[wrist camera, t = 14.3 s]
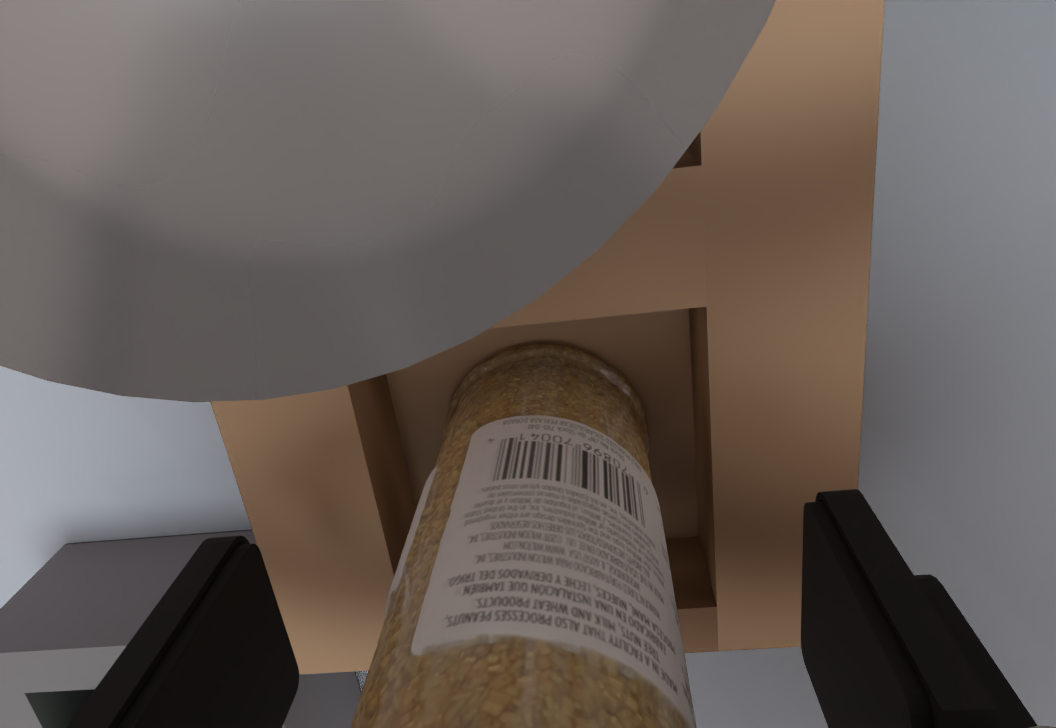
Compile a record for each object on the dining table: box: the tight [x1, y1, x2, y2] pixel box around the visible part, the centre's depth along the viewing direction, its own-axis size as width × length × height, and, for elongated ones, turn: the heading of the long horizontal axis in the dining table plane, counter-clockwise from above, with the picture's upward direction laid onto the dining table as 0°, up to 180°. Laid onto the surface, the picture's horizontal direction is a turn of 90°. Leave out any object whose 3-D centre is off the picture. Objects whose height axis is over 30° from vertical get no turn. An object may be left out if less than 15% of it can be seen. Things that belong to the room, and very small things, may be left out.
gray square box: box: [0, 530, 361, 728], centre depth 20 cm, size 7×7×4 cm
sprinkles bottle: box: [351, 344, 696, 728], centre depth 11 cm, size 5×5×14 cm
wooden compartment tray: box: [210, 0, 885, 674], centre depth 14 cm, size 18×12×4 cm, turn 7°
